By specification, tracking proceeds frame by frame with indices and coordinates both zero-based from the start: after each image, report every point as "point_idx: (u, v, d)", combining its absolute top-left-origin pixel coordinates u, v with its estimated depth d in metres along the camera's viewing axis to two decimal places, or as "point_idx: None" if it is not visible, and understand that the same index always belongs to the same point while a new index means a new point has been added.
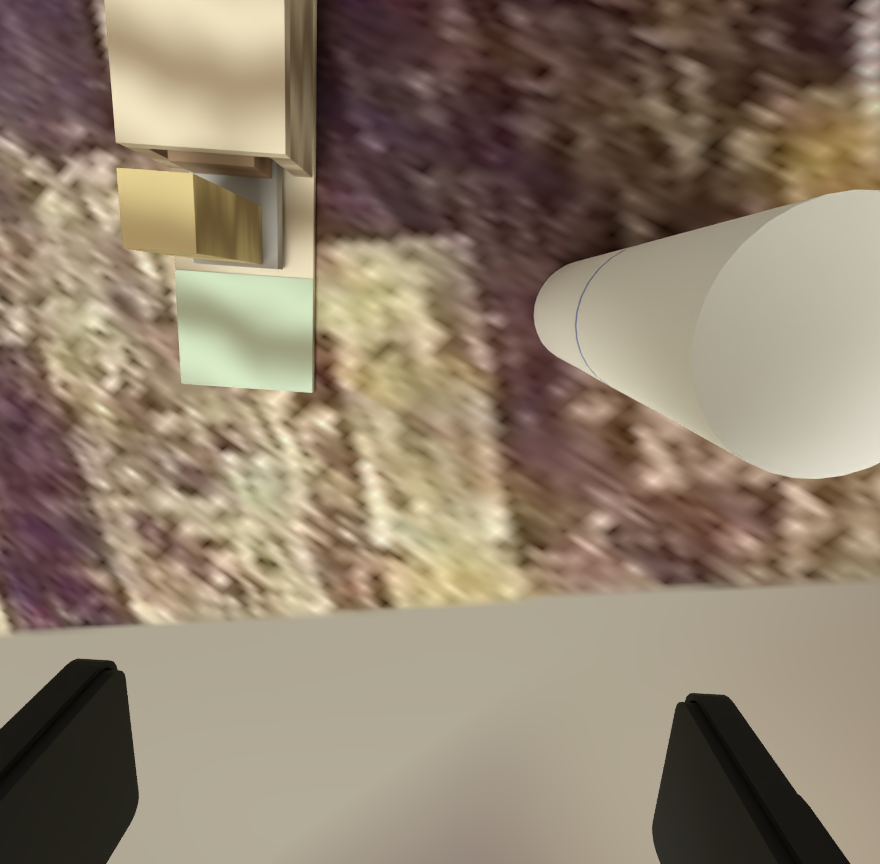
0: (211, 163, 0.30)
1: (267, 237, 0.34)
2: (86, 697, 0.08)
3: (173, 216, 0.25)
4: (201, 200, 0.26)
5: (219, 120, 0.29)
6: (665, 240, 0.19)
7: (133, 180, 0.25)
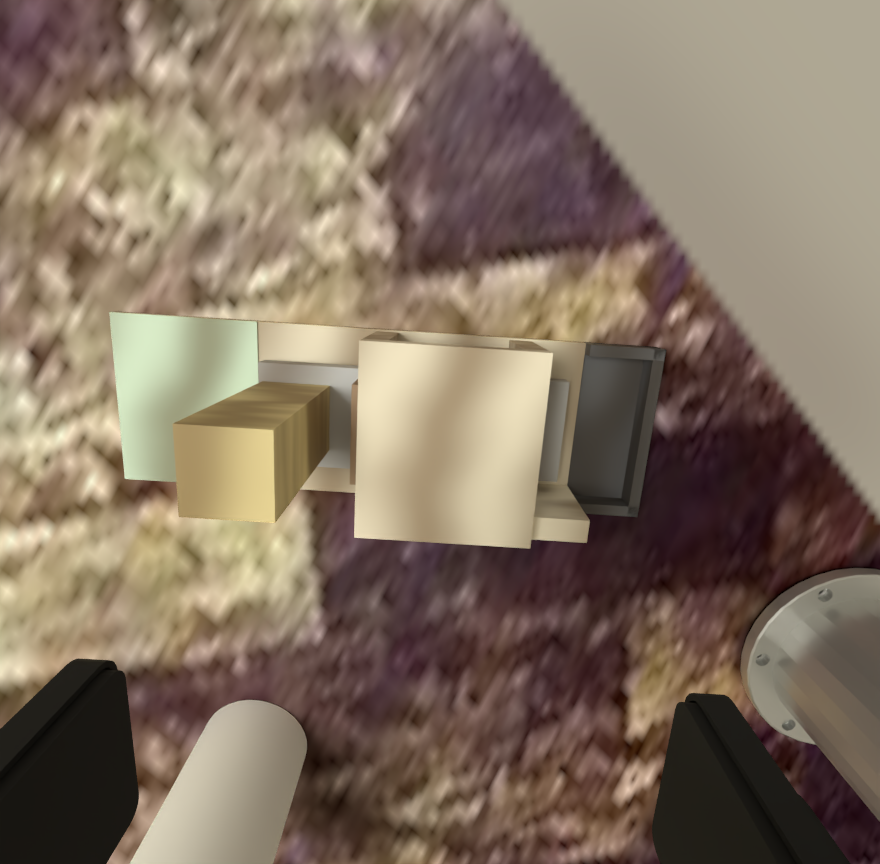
0: (351, 435, 0.25)
1: None
2: (86, 697, 0.08)
3: (220, 493, 0.19)
4: None
5: (387, 467, 0.24)
6: None
7: (259, 448, 0.19)
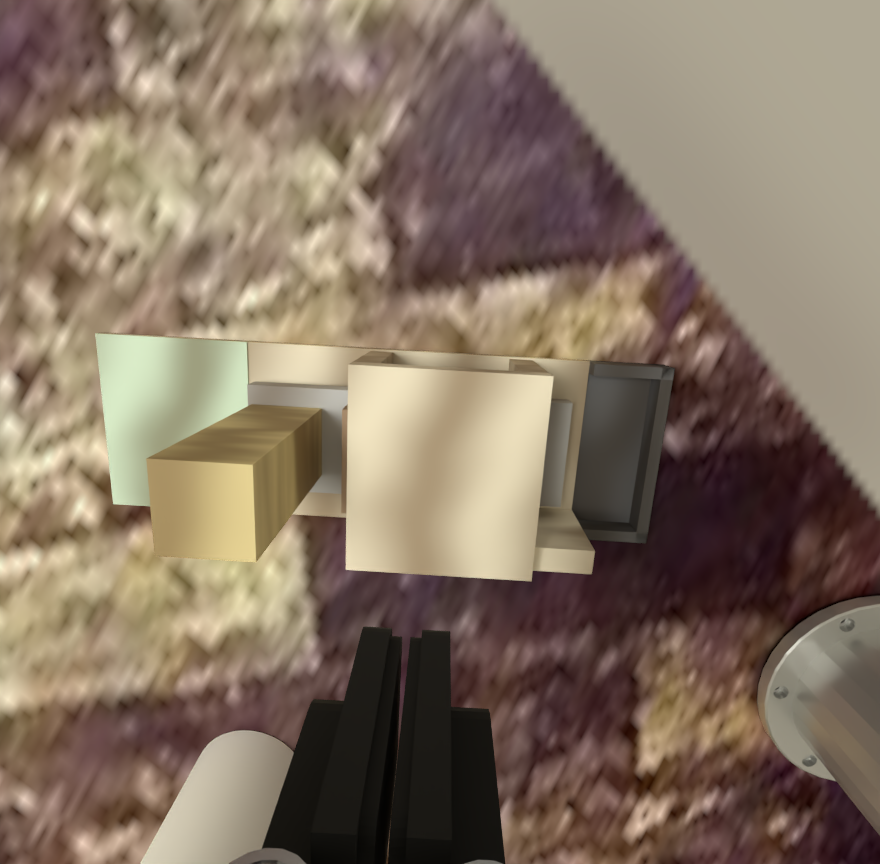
0: (342, 462, 0.24)
1: None
2: (393, 657, 0.09)
3: (197, 531, 0.18)
4: None
5: (379, 497, 0.23)
6: None
7: (238, 484, 0.18)
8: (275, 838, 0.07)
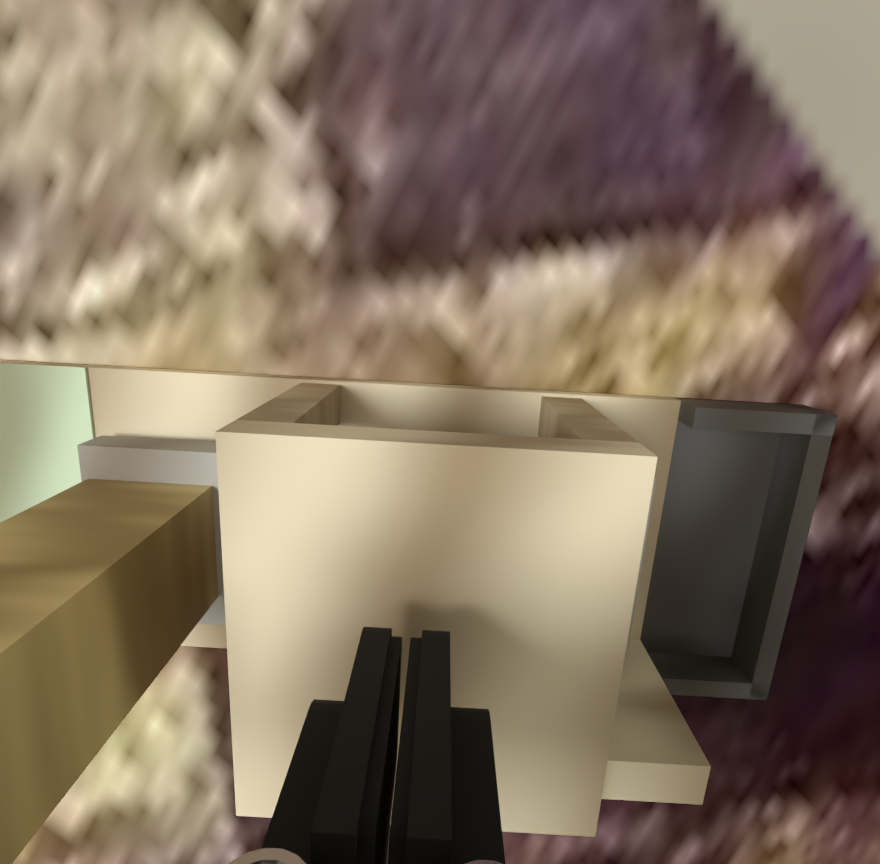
0: None
1: None
2: (393, 657, 0.09)
3: None
4: None
5: (294, 689, 0.12)
6: None
7: None
8: (275, 838, 0.07)
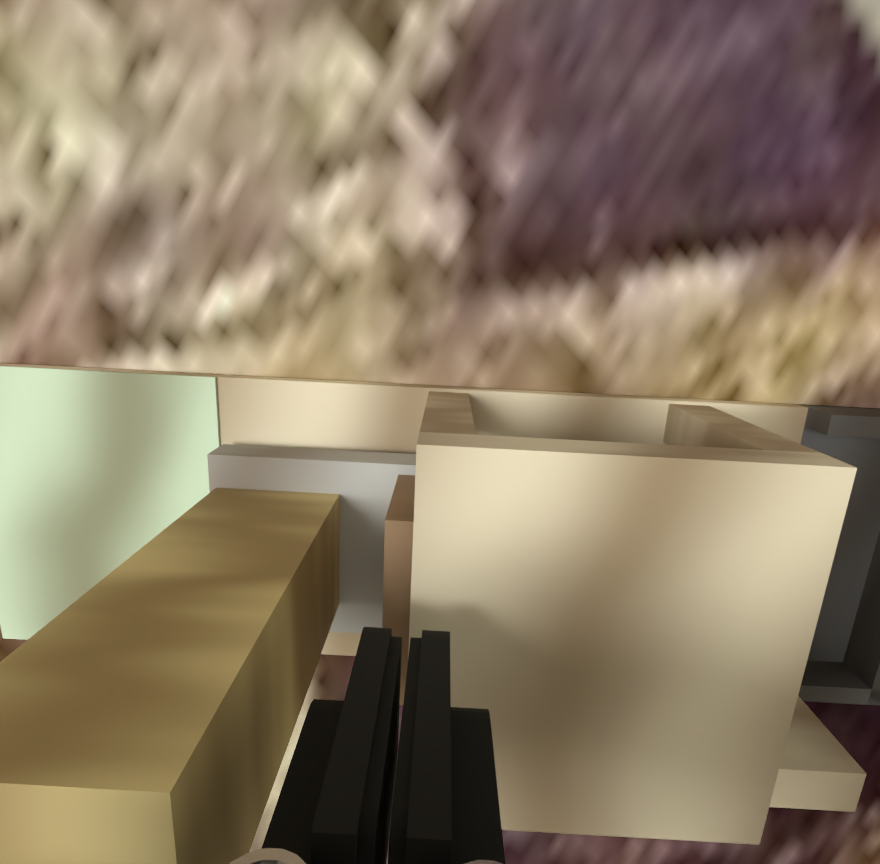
0: (383, 614, 0.13)
1: None
2: (393, 657, 0.09)
3: None
4: None
5: (472, 699, 0.12)
6: None
7: (131, 838, 0.06)
8: (275, 838, 0.07)
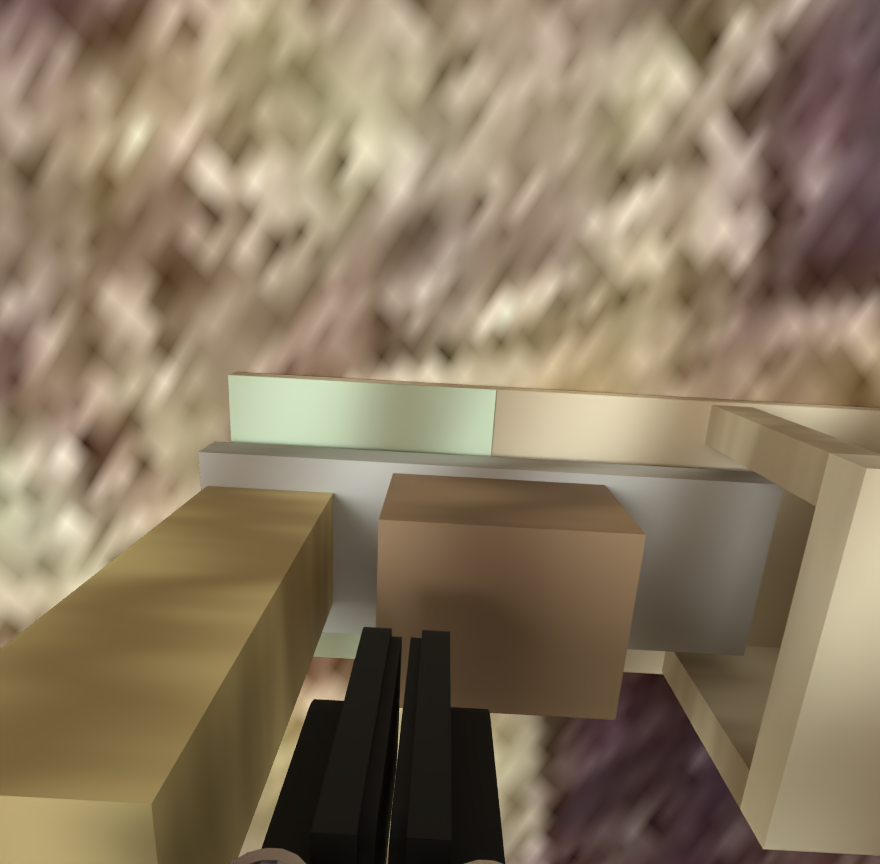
0: (377, 616, 0.12)
1: None
2: (393, 657, 0.09)
3: None
4: None
5: (864, 724, 0.11)
6: None
7: (112, 851, 0.06)
8: (275, 838, 0.07)
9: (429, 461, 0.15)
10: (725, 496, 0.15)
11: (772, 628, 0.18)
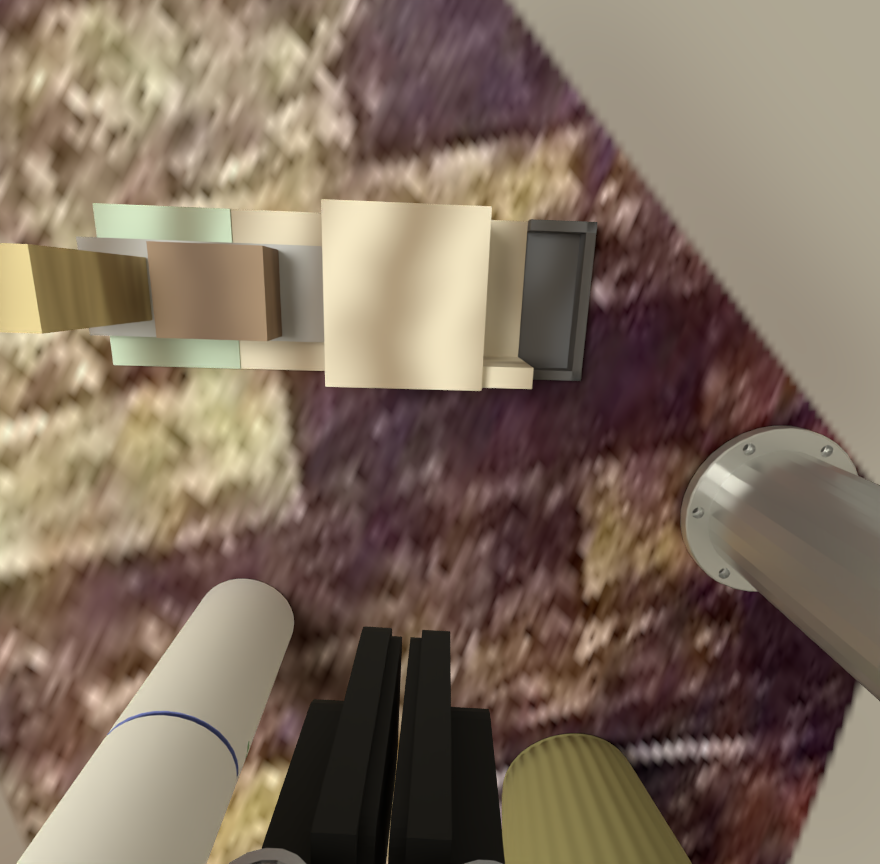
0: (152, 290, 0.28)
1: (120, 325, 0.32)
2: (393, 657, 0.09)
3: None
4: None
5: (351, 319, 0.28)
6: (180, 840, 0.22)
7: (17, 262, 0.22)
8: (275, 838, 0.07)
9: None
10: None
11: None
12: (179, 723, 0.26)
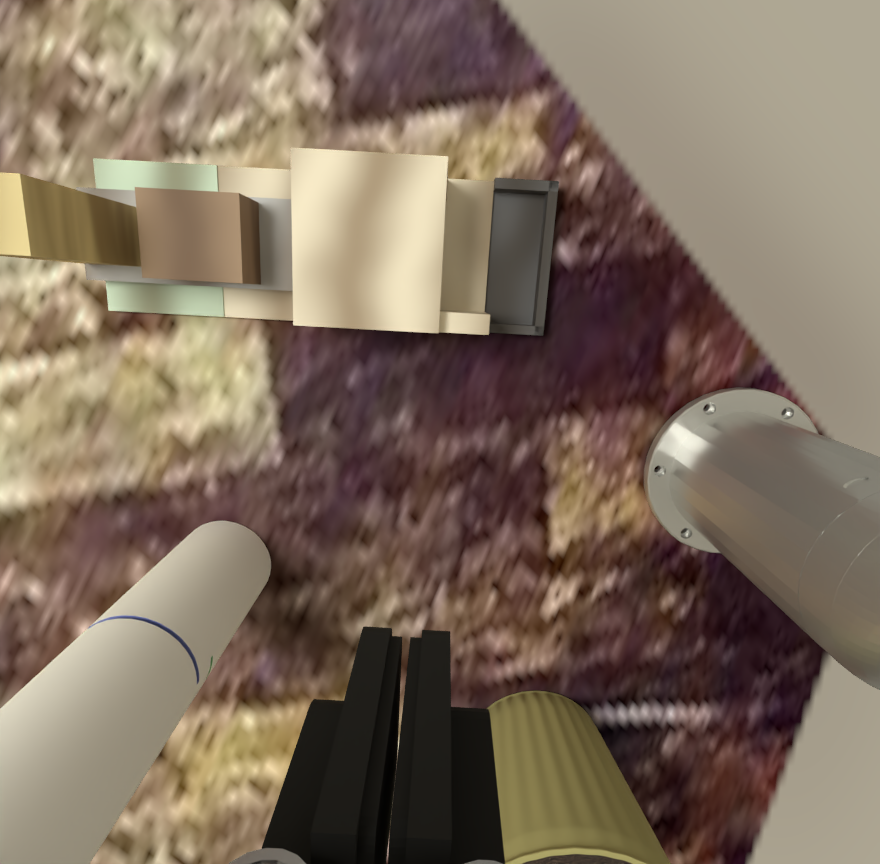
0: (139, 233, 0.31)
1: (114, 270, 0.34)
2: (393, 657, 0.09)
3: None
4: None
5: (317, 261, 0.30)
6: (133, 718, 0.24)
7: (11, 190, 0.24)
8: (275, 838, 0.07)
9: None
10: None
11: None
12: (144, 626, 0.28)
